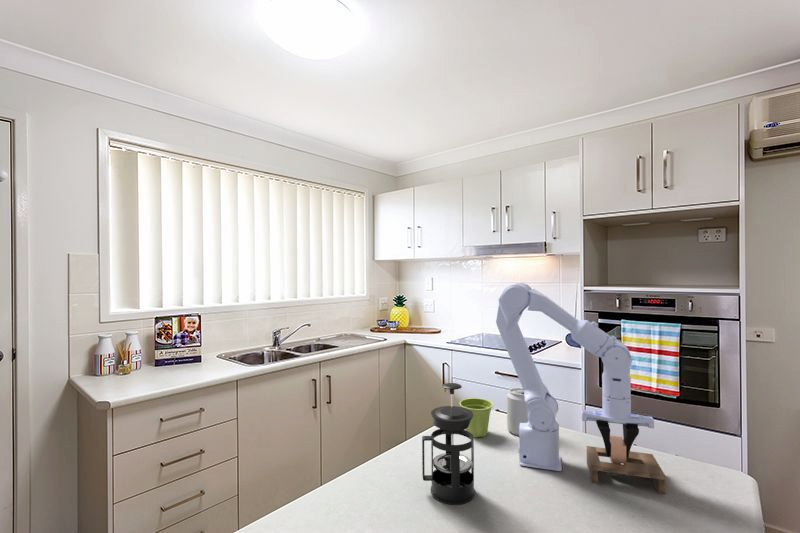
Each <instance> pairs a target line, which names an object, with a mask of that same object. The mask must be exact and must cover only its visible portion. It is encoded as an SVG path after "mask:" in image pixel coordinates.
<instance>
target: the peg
mask: <svg viewBox="0 0 800 533" xmlns="http://www.w3.org/2000/svg"><path fill="white" fill-rule="evenodd" d="M608 458H609V460H610V463H617V464H626V444H625V442H624V440H623V436H617V435H610V456H609V457H608ZM608 473H609V474H610V475H611V476H615V477H626V476H627V475H626V474H619V473H612V472H608Z"/></svg>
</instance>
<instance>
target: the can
mask: <svg viewBox="0 0 800 533" xmlns="http://www.w3.org/2000/svg"><path fill="white" fill-rule="evenodd" d="M508 391H509V392H508V393H507V394H506V428H507V430H508V431H509V432H510V433H511V434H512V435H515V436H518V437H519V428H520V423H528V418H527V406H526V403H525V397H524V390H523V388H522V387H513V388H510V389H509V390H508Z"/></svg>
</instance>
